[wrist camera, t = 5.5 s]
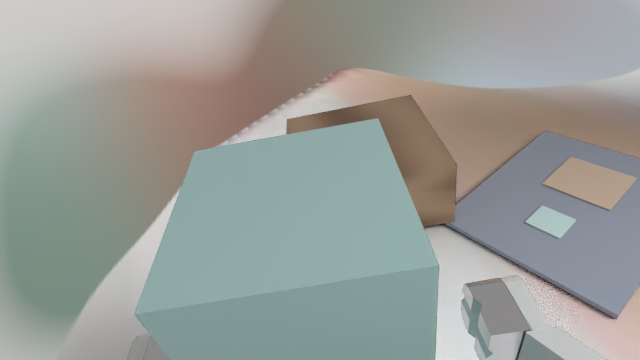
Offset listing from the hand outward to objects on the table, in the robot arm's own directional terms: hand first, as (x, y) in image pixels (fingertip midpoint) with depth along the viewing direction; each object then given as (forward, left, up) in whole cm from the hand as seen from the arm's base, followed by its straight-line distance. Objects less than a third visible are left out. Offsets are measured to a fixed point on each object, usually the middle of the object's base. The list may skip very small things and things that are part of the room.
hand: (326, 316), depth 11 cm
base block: (-11, -7, -6) cm, 15 cm away
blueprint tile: (-16, +4, -7) cm, 18 cm away
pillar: (+1, +1, -7) cm, 7 cm away
